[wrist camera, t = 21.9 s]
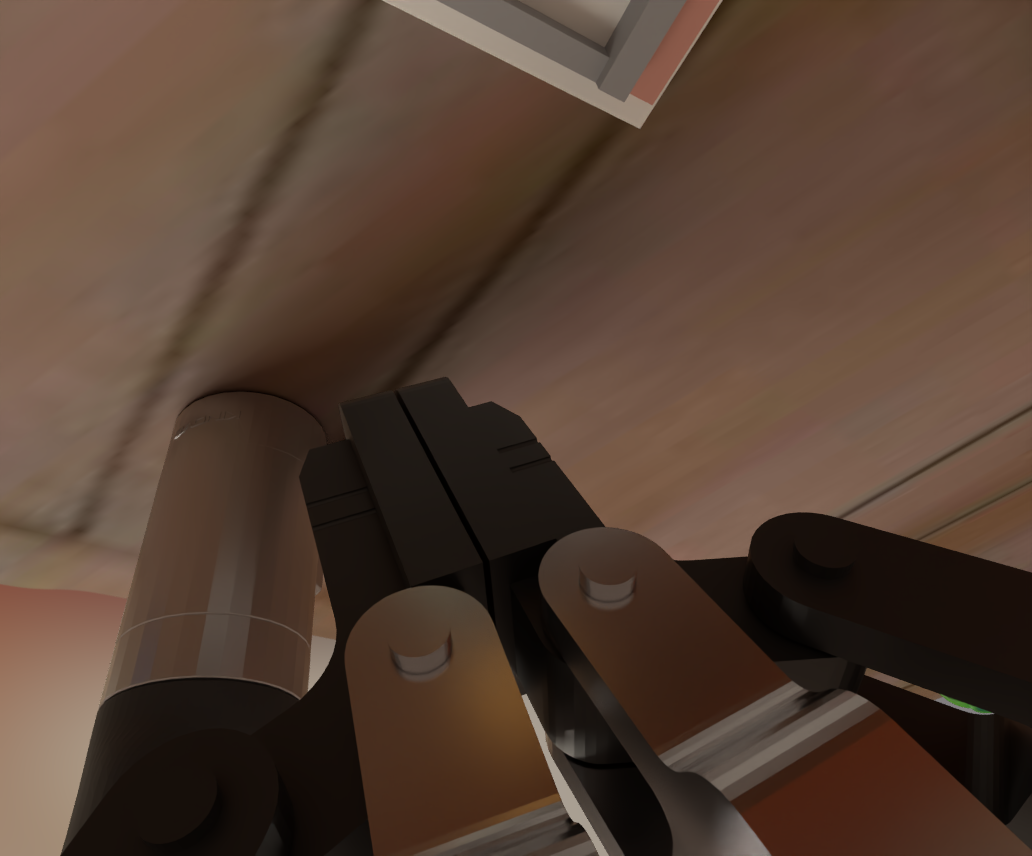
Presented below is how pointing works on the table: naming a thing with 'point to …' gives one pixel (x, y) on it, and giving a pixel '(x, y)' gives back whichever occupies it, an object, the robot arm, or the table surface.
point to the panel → (581, 42)
